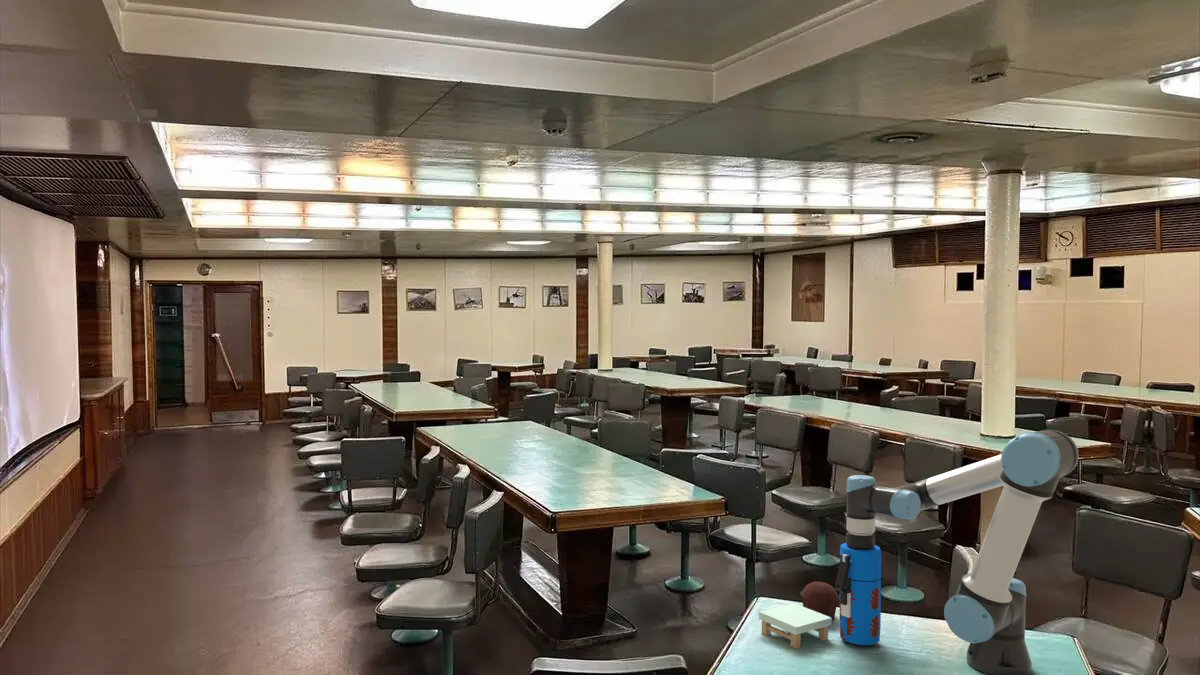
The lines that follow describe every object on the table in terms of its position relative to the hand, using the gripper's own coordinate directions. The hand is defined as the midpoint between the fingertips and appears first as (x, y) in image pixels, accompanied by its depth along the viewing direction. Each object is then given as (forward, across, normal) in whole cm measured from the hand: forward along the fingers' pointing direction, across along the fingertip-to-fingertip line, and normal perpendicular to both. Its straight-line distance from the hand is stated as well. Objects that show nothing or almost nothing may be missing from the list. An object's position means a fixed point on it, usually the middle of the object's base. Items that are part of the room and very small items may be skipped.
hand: (859, 612), depth 229 cm
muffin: (+8, -6, -20) cm, 22 cm away
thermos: (+7, 0, 0) cm, 7 cm away
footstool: (+8, +12, -13) cm, 19 cm away
